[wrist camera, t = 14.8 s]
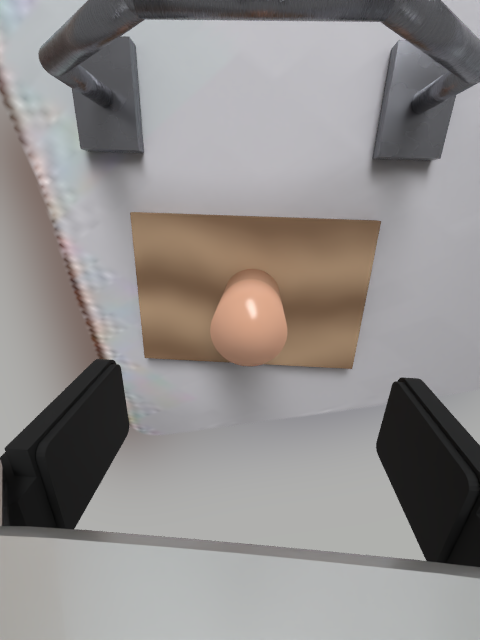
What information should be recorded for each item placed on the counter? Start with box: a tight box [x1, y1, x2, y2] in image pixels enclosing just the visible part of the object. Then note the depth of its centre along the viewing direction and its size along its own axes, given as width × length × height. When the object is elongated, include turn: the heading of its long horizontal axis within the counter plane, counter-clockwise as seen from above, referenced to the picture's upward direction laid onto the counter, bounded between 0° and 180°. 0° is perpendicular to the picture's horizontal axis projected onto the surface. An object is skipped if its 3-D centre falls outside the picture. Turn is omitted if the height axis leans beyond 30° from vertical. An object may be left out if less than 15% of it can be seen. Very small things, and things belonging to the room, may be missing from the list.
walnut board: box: [130, 212, 381, 369], centre depth 24 cm, size 12×18×1 cm, turn 88°
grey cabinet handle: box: [39, 0, 480, 160], centre depth 14 cm, size 6×24×12 cm, turn 88°
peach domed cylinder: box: [210, 269, 287, 366], centre depth 20 cm, size 4×4×7 cm
